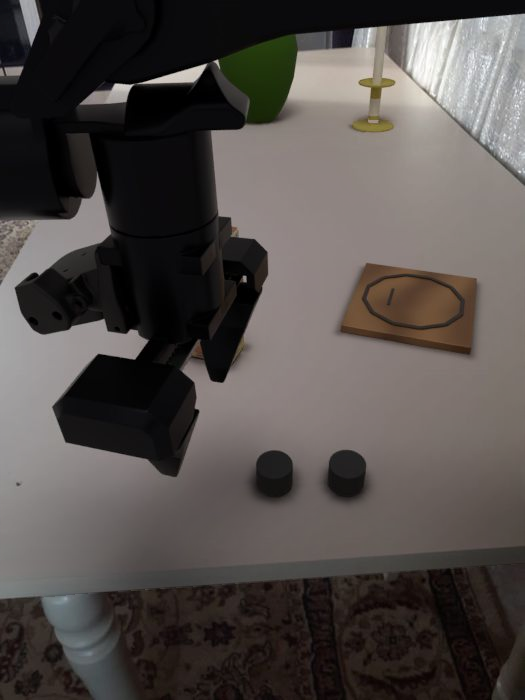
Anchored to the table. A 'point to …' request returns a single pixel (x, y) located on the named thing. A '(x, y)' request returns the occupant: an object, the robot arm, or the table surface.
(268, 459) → the dot
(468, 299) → the board
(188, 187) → the robot arm
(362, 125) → the candle
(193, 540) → the table surface
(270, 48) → the vase
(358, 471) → the dot
